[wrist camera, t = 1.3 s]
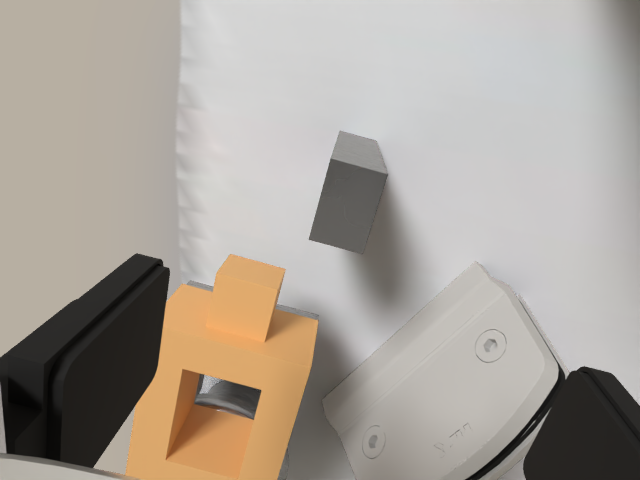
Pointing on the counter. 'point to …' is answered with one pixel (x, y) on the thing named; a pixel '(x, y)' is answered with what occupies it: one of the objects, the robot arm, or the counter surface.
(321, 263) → the counter surface
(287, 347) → the bracket
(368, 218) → the grey rectangular bar
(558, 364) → the white curved casing
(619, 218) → the counter surface
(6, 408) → the robot arm
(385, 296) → the counter surface
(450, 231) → the counter surface
